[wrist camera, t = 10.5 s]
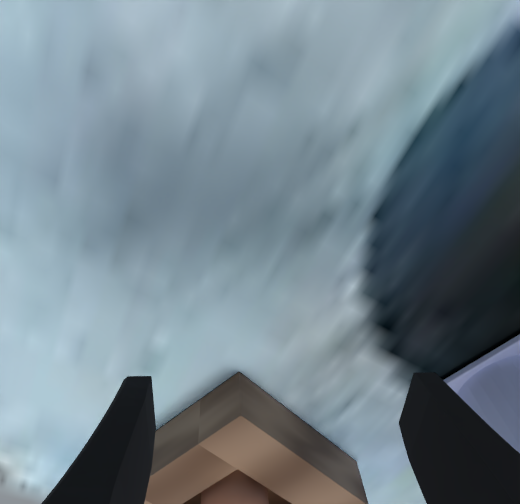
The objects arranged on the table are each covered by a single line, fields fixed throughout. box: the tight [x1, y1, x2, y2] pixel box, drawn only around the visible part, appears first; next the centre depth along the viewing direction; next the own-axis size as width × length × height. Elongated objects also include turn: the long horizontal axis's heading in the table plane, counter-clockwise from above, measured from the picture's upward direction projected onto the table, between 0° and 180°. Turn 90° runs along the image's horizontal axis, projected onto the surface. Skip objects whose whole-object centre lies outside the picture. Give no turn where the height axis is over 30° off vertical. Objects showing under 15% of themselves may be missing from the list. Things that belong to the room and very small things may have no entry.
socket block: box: [144, 372, 368, 504], centre depth 28 cm, size 11×11×3 cm
